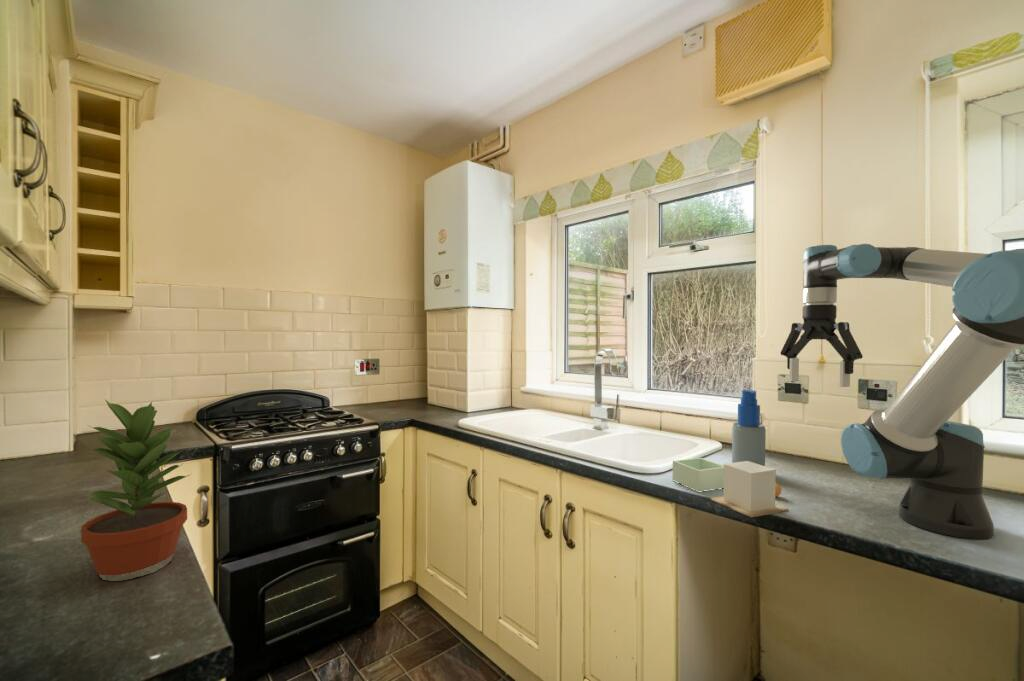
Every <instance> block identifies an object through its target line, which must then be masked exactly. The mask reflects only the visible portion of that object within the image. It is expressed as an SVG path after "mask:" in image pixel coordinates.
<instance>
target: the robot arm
mask: <svg viewBox="0 0 1024 681" xmlns="http://www.w3.org/2000/svg"><path fill="white" fill-rule="evenodd" d="M844 279H846V280H847V279H893V280H894V279H896V280H903V281H912V282H919V283H924V284H925V283H926V284H932V285H937V286H942V287H951V288H952V289H951V291H952V292H954V294H953V295H951V301H952V305H953V306H954V307H953V308H952V310H951V315H952V317H953V319H954V321H955V323H954V324H953V325H952V327H950V329H949V330H948V331H947V332H946V334H945V335H944V337H943V338H942V339H941V340H940V342H939V343H938V344H937V345H936V347H935V348H934V349H933V350H932V351H931V353H930V354H929V356H927V358H926V359H925V360H924V362H923V363H922V364H921V366H920V367H919V368H918V369H917V370H916V372H915V373H914V375H913V376H912V377H911V378H910V379H909V380H908V382H907V383H906V384H905V386H903V388H902V390H901V391H900V392H899V393H898V395H897V396H896V397H895V398H894V399H893V401H892V402H891V403H890V404H889V406H888V407H880V408H877V409H875V410H874V411H873V412H872V413H871V414H870V416H869V417H868V418H867V419H866V420H865V422H863V423H859V422H857V423H856V422H855V423H852V424H848V425H846V427H845V428H844V429H843V431H842V433H841V438H840V445H841V450H842V453H843V457H844V458H845V462H847V464H848V466H849V467H850V468H851V469H852V470H853V471H854V472H855V473H857V475H860V476H861V477H865V478H870V479H877V480H883V479H886V480H887V479H909V483H908V484H909V485H908V486H907V488H906V490H905V492H904V494H903V497H902V499H901V501H900V503H899V506H898V507H899V508H898V517H900V518H901V519H902V520H904V521H905V522H906V523H908V524H911V525H912V526H915V527H918V528H920V529H923V530H927V531H929V532H933V533H937V534H942V535H947V536H951V537H956V538H961V539H962V538H963V539H969V540H971V539H972V540H985V539H990V538H992V537H993V536H994V529H995V526H994V522H993V520H992V517H991V515H990V512H989V510H988V507H987V505H986V504H987V503H986V502H985V499H984V498H983V485H984V482H983V480H984V479H983V478H984V458H985V457H984V454H985V448H986V445H985V444H984V433H983V432H982V430H981V429H980V428H979V427H977V426H975V425H971V424H966V423H961V422H957V421H956V422H955V421H950V420H949V419H951V417H952V416H953V415H954V414H955V413H956V412H957V411H958V410H959V409H960V408H961V406H962V405H964V404H965V403H966V401H967V400H968V399H969V398H970V397H971V396H972V395H973V394H974V393H975V392H976V391H977V390H978V389H979V388H980V387H981V385H982V384H984V382H986V380H987V379H988V378H989V377H990V376H991V375H992V374H993V373H994V372H995V371H996V370H997V368H998V367H999V366H1000V365H1001V364H1002V363H1003V362H1004V361H1005V360H1006V359H1007V358H1008V357H1009V356H1010V355H1011V353H1013V351H1014V350H1016V348H1018V347H1019V348H1020V347H1024V248H1015V249H1011V250H1000V251H994V252H990V253H982V252H981V253H980V252H967V251H956V250H955V251H954V250H953V251H952V250H941V249H929V248H928V249H927V248H924V247H917V246H906V247H903V246H902V247H899V246H898V247H897V246H896V247H885V246H882V247H881V246H879V247H878V246H876V247H875V246H874V245H872V244H871V243H860V244H852V245H850V246H845V247H842V248H839V249H838V246H836V245H833V244H820V245H814V246H810V247H807V248H806V249H805V250H804V252H803V261H802V286H803V287H802V304H804V305H803V307H802V319H803V322H802V323H800V322H793V323H792V324H791V328H790V332H789V334H788V336H787V338H786V340H785V342H784V345H783V346H782V349H781V351H780V355H781V356H783V357H786V359H787V364H786V365H787V366H786V368H787V370H789V373H788V374H789V375H788V376H789V382H793V383H795V382H799V377H800V376H799V370H800V366H799V365H800V358H799V357H798V355H799V354H800V353H801V352H802V350H804V348H805V347H806V346H807V345H808V344H809V343H810V341H812V340H825V341H827V342H828V343H829V344H830V345H831V346H832V347H833V349H834V350H835V351H836V352H837V354H838V355H839V356H840V357H841V358H842V360H840V361H839V387H840V388H848V387H849V388H850V387H851V385H850V384H851V375H852V374H853V373H854V362H855V361H856V360H861V359H863V358H864V356H863V353H862V352H861V350H860V348H859V346H858V344H857V342H856V340H855V338H854V337H853V335H852V332H851V330H850V323H849V322H847V321H839V322H836V319H837V309H838V308H837V307H838V306H836V304H837V298H838V295H837V293H838V292H837V291H838V289H837V288H838V284H837V283H838V280H844ZM836 330H837V331H838V333H839V335H840V337H841V339H842V341H843V342H842V341H841V340H840V338H839V336H838V335H837V334H836V333H835V331H836ZM802 331H803V333H802ZM801 333H802V334H801ZM799 337H800V338H799Z"/></svg>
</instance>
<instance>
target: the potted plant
mask: <svg viewBox="0 0 1024 681" xmlns="http://www.w3.org/2000/svg"><path fill="white" fill-rule="evenodd" d="M104 400H105V402H106V404H107V407H108V408H109V409H110V410H111V411H112V413H113V414H114V416H116V418H117V419H118V420H119V422H120V423H121V424H122V425H123V427H124V428H125V429H126V432H125V433H126V435H123V434H121V433H119V432H116V431H114V430H111V429H109V428H105V427H101V426H96V427H92V426H90V425H87V424H86V426H87V427H90V428H92V429H94V430H96V431H98V432H101V433H103V434H105V435H107V436H105V437H103V436H102V437H101V436H100V435H97V434H94V435H95V437H97V438H98V440H99V441H100V442H101V443H103V444H104V445H105V446H106V447H108V448H109V449H108V448H102V447H99V448H93V447H92V448H91V447H89V446H87V448H88V449H90V450H91V451H94V452H96V453H98V454H100V455H102V456H104V457H106V458H107V459H110V460H112V461H114V463H115V465H116V467H117V470H111V469H106V470H107V472H108V473H110V474H112V475H114V476H115V477H117V478H119V479H120V480H121V486H122V489H123V492H122V491H121V492H119V491H109V490H99V491H93V492H92V493H89V495H87V494H85V493H84V494H83V496H84V497H85V498H88V499H90V500H91V501H93V502H96V503H99V504H101V505H104V506H107V507H109V508H111V509H114V510H110V511H108V512H105V513H103V514H99V515H97V516H95V517H93V518H91V519H89V520H87V521H86V522H85V523H84V524H82V526H81V530H80V535H81V536H80V537H81V538H80V539H81V540H80V541H81V543H82V544H84V545H85V546H86V548H87V550H88V552H89V555H90V558H91V560H92V563H93V566H94V568H95V571H96V573H97V572H98V573H99V574H101V575H121V574H126V573H131V572H135V571H137V570H141V569H144V568H147V567H150V566H153V565H155V564H157V563H159V562H161V561H163V560H166V559H167V558H169V557H170V556H171V555H173V553H174V552H175V553H176V550H177V546H178V542H179V539H180V535H181V533H182V529H183V526H184V524H185V523H186V521H187V520H188V508H187V505H186V504H184V503H181V502H178V501H177V502H175V501H159V502H158V501H157V502H154V501H156V500H158V499H159V498H160V497H161V496H163V495H164V494H166V492H160V493H159V494H157V495H154V493H155V492H156V491H158V490H161V489H162V488H164V487H166V486H169V485H171V484H173V483H176V482H177V481H180V480H183V479H185V478H186V477H189V476H191V475H192V473H191V474H188V475H177V476H174V477H171V478H169V479H165V480H163V481H161V482H160V479H162V478H163V477H164V476H166V475H168V474H169V473H172V472H173V471H174V470H175V469H177V468H179V467H181V466H182V465H183V464H184V463H182V464H180V465H178V464H174V465H171V466H169V467H167V468H166V469H164V470H162V471H160V472H159V473H157V474H156V475H153V476H152V477H149V476H150V475H151V474H152V473H153V472H155V471H157V469H159V468H161V467H162V466H163V465H164V464H166V463H167V462H169V461H170V460H172V459H173V458H175V456H177V455H179V453H181V452H182V450H180V451H179V452H177V453H176V452H175V453H174V452H172V453H169V454H166V455H165V456H162V457H161V455H162V454H163V453H164V451H165V450H166V449H167V447H168V444H167V443H166V442H167V441H168V439H169V438H170V436H171V433H172V432H171V431H172V430H173V428H174V427H173V425H171V426H170V427H168V428H167V429H165V430H161V431H159V432H157V433H156V434H154V435H151V434H152V431H153V429H154V427H155V423H156V422H155V420H154V419H155V416H156V415H157V413H158V410H155V409H156V408H155V406H153V404H152V403H153V401H151V402H150V403H149V404H148V405H147V406H143V407H139V408H137V409H136V410H135V411H134V412H133V414H132V413H131V412H130V411H129V410H128V409H127V408H125V407H124V406H123V405H121V404H118V403H111V402H110V401H108V400H107V398H106V399H105V398H104ZM109 436H110V437H109ZM160 457H161V458H160ZM159 458H160V459H159ZM121 500H127V502H128V503H125V501H124V502H123V501H121ZM175 553H174V554H175ZM98 573H97V574H98Z"/></svg>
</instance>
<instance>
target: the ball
mask: <svg viewBox="0 0 1024 681" xmlns="http://www.w3.org/2000/svg"><path fill="white" fill-rule="evenodd" d="M781 494H782V488H781V486H780V485H779V484H778V483H777V482H776V485H775V498H776V497H777V498H778V497H779V496H780V495H781Z"/></svg>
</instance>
